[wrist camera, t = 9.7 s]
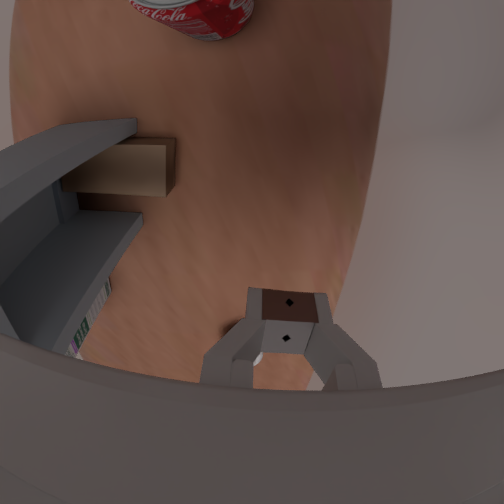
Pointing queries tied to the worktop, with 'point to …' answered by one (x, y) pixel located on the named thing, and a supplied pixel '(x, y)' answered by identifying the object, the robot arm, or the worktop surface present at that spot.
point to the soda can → (199, 16)
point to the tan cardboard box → (127, 169)
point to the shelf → (56, 234)
